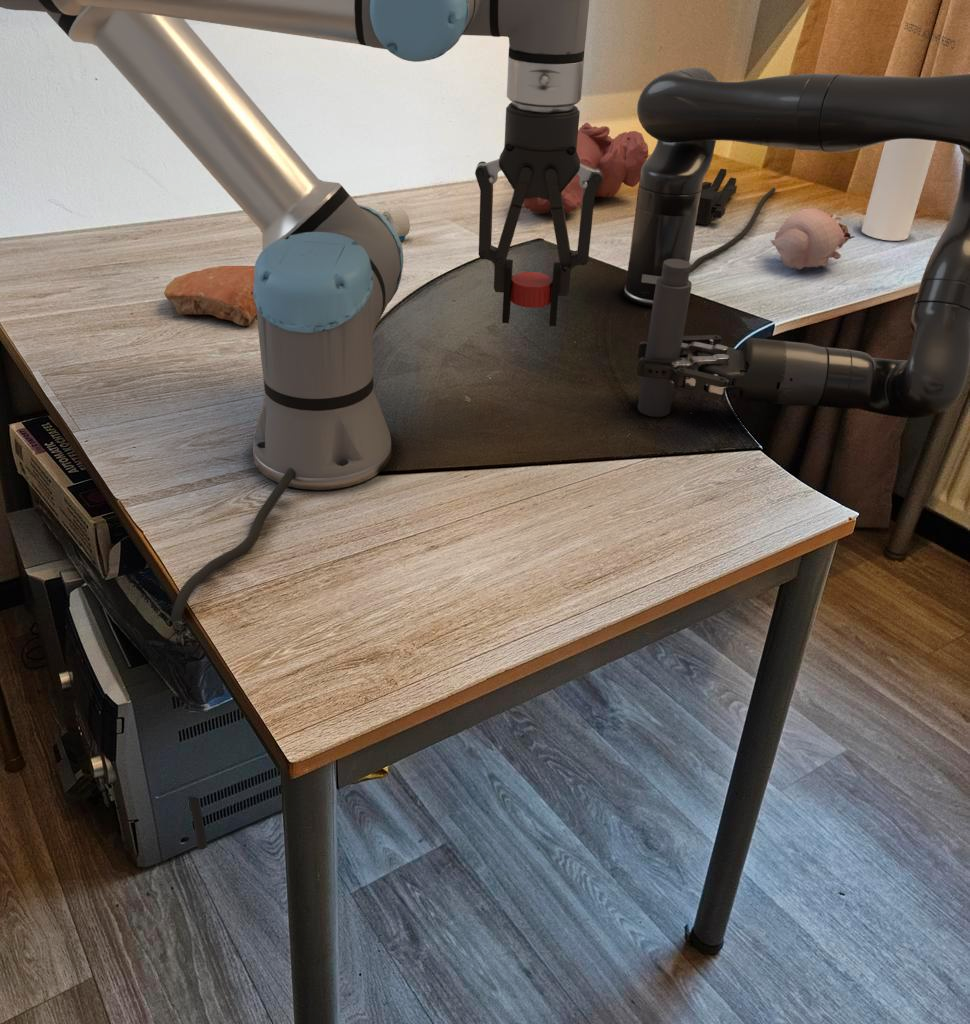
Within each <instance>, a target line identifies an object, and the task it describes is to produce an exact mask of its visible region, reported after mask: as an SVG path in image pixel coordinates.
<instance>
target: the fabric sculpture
mask: <svg viewBox="0 0 970 1024" xmlns="http://www.w3.org/2000/svg"><path fill="white" fill-rule="evenodd" d="M610 130H611V129H610V127H608V126H607V125H605V126H604V125H602V126H600V127H598V126H592V125H591V124H590V123H589V122H585V123H584V124H581V126H580V127H578V139H577V154H578V157H579V159H580V163H581V164H583V165H585V166H587V167H590V168H592V169H593V168H599V169H600V170H601V172H602V182H601V184H600V186H599V189H598V191H597V193H596V195H595V197H596V198H599V197H604V198H606V197H608V198H610V197H613V196H614V195H617V194H618V192H619V191H620V189H621V186H622V184H624V185H625V186H627V187H631V188H635V187H636V186H637V185H639V180H640V173H641V168H642V166H643V164H644V163H645V162H646V160H647V159H648V158H649V146H648V143H647V142H646V141H645V139H644V135H643V134H642V132H638V131H636V130H631V131H628V132H627V131H624V132H621V133H618V135H617V136H615V137H614V138H612V137H611V136H610V135H609V134H610ZM579 181H580V178H579V176H578V175H577V174H576V175H575V176H574V178H573V179H572V180H571V181H570V183H569V184H568V185H567V186H566V187H565V189H564V190H563V191H562V200H563V207H564V213H565V214H569V213H573V212H575V211H578V209H579V208H581V206H582V196H583V189H582V188H581V187H580V184H579ZM523 207H524V209H525V210H529V211H530V212H532V213H535V214H546V213H549V212H551V208H550V202H549V200H544V199H541V198H538V197H535V198H531V199H526V198H525V199H524V202H523Z"/></svg>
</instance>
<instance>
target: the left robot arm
mask: <svg viewBox="0 0 970 1024" xmlns="http://www.w3.org/2000/svg"><path fill="white" fill-rule="evenodd" d="M0 8H3V9H5V10H11V11H12V10H13V11H27V12H28V11H30V12H39V13H40V12H41V13H46V14H47V15H48V16H49V17H50V18H51V19H52V20H53V21H54V22H55V24H56V25H57V26H58V27H59V28H60V29H61V30H62V32H63V33H64V34H65V35H66V36H67V37H68V38H69V39H70V40H71V41H72V42H75V43H81V44H88V45H93V46H95V47H97V48H98V49H99V50H100V52H101V53H102V54H103V55H104V56H105V57H106V58H107V59H108V60H109V62H110V63H111V64H112V65H113V66H114V67H115V69H117V70H118V71H119V73H120V74H121V75H122V76H123V78H125V80H126V81H127V82H128V83H129V84H130V85H131V86H132V87H133V89H135V91H136V92H137V93H138V94H139V95H140V96H141V98H142V99H143V100H144V101H145V102H146V103H147V104H148V105H149V106H150V108H151V109H152V110H153V111H154V112H155V113H156V114H157V115H158V116H159V118H160V119H161V120H162V121H163V122H164V123H165V124H166V125H167V127H168V128H169V129H170V130H171V131H172V132H173V134H175V136H176V137H177V138H178V139H179V140H180V141H181V142H182V144H184V145H185V147H186V148H187V149H188V150H189V151H190V152H191V154H192V155H193V156H194V157H195V158H196V159H197V160H198V161H199V163H200V164H201V165H202V166H203V167H204V168H205V169H206V171H208V173H209V174H210V175H211V176H212V177H213V178H214V179H215V181H216V182H217V183H218V184H219V185H220V186H221V187H222V189H224V191H225V192H226V193H227V194H228V195H229V196H230V197H231V198H232V200H233V201H234V202H235V203H236V204H237V205H238V206H239V208H240V209H242V211H243V212H244V213H245V214H246V215H247V216H248V218H249V219H250V220H251V221H252V222H253V223H254V224H255V225H256V226H257V228H258V229H259V230H260V233H261V234H262V235H261V237H262V246H261V248H262V250H261V251H260V253H259V255H258V257H257V259H256V261H255V264H254V266H255V269H254V284H253V287H254V291H253V296H254V300H255V303H256V311H257V314H256V320H257V330H258V340H259V349H260V359H261V369H262V379H263V388H264V390H263V391H264V396H263V400H262V404H261V408H260V412H259V415H258V419H257V423H256V427H255V430H254V434H253V439H252V441H253V442H252V455H253V460H254V464H255V467H256V468H257V470H258V471H259V472H260V473H261V474H262V475H263V476H265V477H266V478H268V479H269V480H271V481H273V482H275V483H277V485H275V488H274V489H273V490H272V492H271V493H270V495H269V496H268V498H267V499H266V501H265V502H264V503H263V504H262V506H261V507H260V509H259V511H258V512H257V514H256V515H255V517H254V520H253V522H252V525H251V527H250V530H249V533H248V535H247V536H246V538H245V539H244V540H243V541H242V542H241V543H240V544H238V545H236V547H234V548H232V549H230V550H229V551H226V552H224V553H222V554H221V555H219V556H217V557H215V558H214V559H212V560H210V561H209V562H208V563H206V564H205V565H204V566H203V567H202V568H201V569H199V570H197V571H196V572H195V573H194V574H193V575H192V576H190V577H189V578H188V580H187V581H185V583H184V584H183V586H182V587H181V589H180V590H179V592H178V594H177V596H176V599H175V601H174V604H173V607H172V610H171V613H170V621H172V622H177V621H180V620H181V619H182V618H183V616H184V613H185V609H186V606H187V604H188V602H189V599H190V597H191V595H192V593H193V591H194V590H195V589H196V588H197V587H198V586H199V585H200V584H202V583H203V582H204V581H205V580H206V579H208V578H209V577H210V576H211V575H213V573H215V572H216V571H218V570H219V569H220V568H222V567H224V566H226V565H227V564H230V563H232V562H233V561H235V560H237V559H238V558H241V557H242V556H243V555H245V554H246V553H248V552H249V551H250V549H251V548H253V546H254V545H255V543H256V542H257V541H258V539H259V538H260V535H261V531H262V529H263V525H264V523H265V522H266V520H267V517H268V516H269V515H270V512H271V511H272V510H273V508H274V507H275V505H276V504H277V503H278V501H279V500H280V498H281V496H282V495H283V494H284V492H285V491H286V489H287V488H288V487H290V488H295V489H301V490H312V491H314V490H315V491H323V490H327V491H328V490H337V489H342V488H348V487H351V486H355V485H358V484H361V483H363V482H366V481H368V480H370V479H373V478H374V477H375V476H377V475H378V474H380V473H381V472H382V471H383V470H384V469H385V468H386V467H387V466H388V464H389V463H390V461H391V458H392V437H391V432H390V430H389V427H388V424H387V422H386V419H385V417H384V413H383V411H382V408H381V406H380V403H379V400H378V398H377V395H376V393H375V385H374V333H375V332H374V331H375V329H376V327H377V325H378V323H379V321H380V320H381V318H382V316H383V314H384V312H385V310H386V309H387V306H388V304H389V303H390V302H391V301H392V300H393V298H394V297H395V295H396V294H397V292H398V289H399V287H400V283H401V280H402V273H403V270H404V251H403V245H402V242H401V240H400V239H399V237H398V235H397V233H396V231H395V229H394V228H393V226H392V225H391V224H390V222H389V221H388V220H387V219H386V218H385V217H384V216H383V215H382V213H380V212H379V211H377V210H376V209H374V208H372V207H369V206H365V205H361V204H358V203H357V202H356V200H354V198H353V197H352V196H351V194H349V192H348V191H347V190H346V189H345V187H344V186H343V185H342V184H341V183H339V182H335V181H326V180H322V179H320V178H318V176H316V174H315V173H314V171H312V169H310V167H309V166H308V165H307V163H306V162H305V161H304V160H303V159H302V157H300V155H299V154H298V153H297V152H296V150H295V149H294V148H293V147H292V146H291V144H290V143H289V142H288V141H287V140H286V139H285V137H284V136H283V135H282V133H281V132H280V131H279V130H278V129H277V128H276V127H275V126H274V124H273V123H272V122H271V121H270V120H269V119H268V117H267V116H266V115H265V114H264V112H263V111H262V110H261V109H260V108H259V107H258V105H257V104H256V103H255V102H254V101H253V99H252V98H251V97H250V96H249V95H248V93H247V92H246V91H245V89H244V88H243V87H242V86H241V85H240V83H238V81H236V79H235V78H234V77H233V76H232V74H231V73H230V72H229V71H228V70H227V69H226V67H225V66H224V65H223V64H222V63H221V62H220V60H219V59H218V58H217V56H216V55H215V54H214V53H213V52H212V51H211V50H210V48H209V46H207V45H206V43H205V42H204V41H203V40H202V39H201V37H200V36H199V35H198V34H197V33H196V32H195V31H194V29H193V28H192V27H191V26H190V24H189V23H188V22H187V21H186V20H188V21H194V22H195V21H196V22H202V23H209V24H216V25H223V26H230V27H237V28H242V29H243V28H244V29H252V30H257V31H265V32H271V33H278V34H285V35H292V36H300V37H307V38H313V39H320V40H327V41H334V42H341V43H346V44H347V43H348V44H354V45H361V46H365V47H369V48H373V49H381V50H387V51H388V52H389V53H391V55H393V56H396V57H397V58H398V59H401V60H404V61H406V62H413V63H418V62H419V63H420V62H421V63H422V62H427V61H431V60H435V59H438V58H440V57H442V56H443V55H445V54H446V53H447V52H448V51H450V50H451V49H452V48H453V47H454V46H455V45H457V44H458V42H459V41H460V39H461V37H462V36H478V37H492V38H493V37H494V38H501V37H505V38H508V56H507V77H506V79H507V81H506V98H507V99H508V100H509V101H510V103H509V104H508V105H507V106H506V107H505V121H504V123H505V124H504V125H505V126H504V143H503V147H504V148H503V150H502V151H501V153H500V155H499V158H498V159H495V160H491V161H488V162H486V161H479V162H478V163H477V165H476V168H475V172H474V175H475V178H476V181H477V184H478V188H479V190H480V191H479V221H478V222H479V225H478V228H479V229H478V257H479V258H480V259H481V260H487V261H490V262H491V263H492V264H493V266H494V267H493V268H494V270H493V271H494V273H493V274H494V275H493V289H494V292H495V293H503V298H502V315H501V316H502V317H501V323H502V324H510V317H511V303H512V302H511V300H510V295H511V278H512V276H513V263H514V259H509V258H508V255H509V252H510V248H511V244H512V241H513V238H514V234H515V231H516V229H517V224H518V222H519V218H520V215H521V212H522V208H523V207H524V204H523V202H524V199H525V198H526V199H531V198H535V197H538V198H541V199H544V200H549V202H550V208H551V211H550V212H551V217H552V223H553V229H554V237H555V242H556V247H557V248H556V249H557V253H558V260H559V262H558V261H557V262H556V261H554V262H553V269H552V279H553V283H552V296H551V303H550V310H549V322H548V323H549V324H548V325H549V327H557V318H558V317H557V316H558V306H559V297H568V295H569V293H570V285H571V284H570V283H571V273H572V270H573V268H574V267H577V266H586V265H587V264H588V262H589V258H590V257H589V256H590V248H591V236H592V227H593V226H592V225H593V218H594V217H593V216H594V208H595V197H596V196H595V195H596V193H597V191H598V189H599V186H600V184H601V182H602V172H601V170H600V169H599V168H593V169H592V168H590V167H587V166H585V165H583V164H581V163H580V159H579V157H578V154H577V139H578V130H579V128H580V127H579V125H580V114H581V111H580V110H579V108H578V107H577V106H576V104H578V103H579V102H581V100H582V91H583V90H582V89H583V78H584V67H585V66H584V65H585V50H586V42H587V41H586V39H587V29H588V20H589V11H590V0H0ZM499 172H502V173H503V175H504V177H505V178H506V180H507V181H508V183H509V185H510V186H511V187H512V189H513V193H512V196H511V200H510V204H509V208H508V210H507V214H506V216H505V221H504V224H503V228H502V231H501V234H500V238H499V241H498V245H497V246H495V245H492V235H493V234H492V232H493V205H494V184H496V183H497V181H498V177H499V175H498V174H499ZM576 174H577V175H578V176H579V178H580V181H579V184H580V187H581V188H582V189H583V196H582V204H581V206H580V218H579V228H578V239H577V249H576V250H573V251H571V245H570V240H569V239H570V238H569V232H568V226H567V219H566V213H564V207H563V200H562V191H563V190H564V189H565V187H566V186H567V185H568V184H569V183H570V181H571V180H572V179H573V178H574V176H575V175H576ZM187 798H188V803H189V808H190V812H191V816H192V822H193V827H194V832H195V838H196V844H197V849H198V850H203V851H204V850H205V849H207V847H208V842H207V837H206V836H207V835H206V830H205V823H204V818H203V813H202V808H201V803H200V798H199V797H195V796H189V795H188V797H187Z"/></svg>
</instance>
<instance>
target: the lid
mask: <svg viewBox="0 0 970 1024" xmlns="http://www.w3.org/2000/svg"><path fill="white" fill-rule="evenodd" d="M552 283H553V277H551V276H550V275H548V274H545V273H541V272H535V271H524V272H523V271H522V272H518V273H515V274H512V278H511V295H510V300H511V303H512V304H514V305H516V306H519V307H522V308H528V309H529V308H530V309H531V308H532V309H535V308H536V309H538V308H543V307H547V306H549V305H551V296H552Z"/></svg>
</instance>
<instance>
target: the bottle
mask: <svg viewBox="0 0 970 1024" xmlns="http://www.w3.org/2000/svg"><path fill="white" fill-rule="evenodd" d="M691 265H692V263H690V261H689V262H687V261H685V260H681V259H667V260H665V261H664V262H663V269H662V276H661V277H659V278H658V279H657V280H656V287H655V294H654V300H653V307H651V314H650V321H649V328H648V334H647V341H646V342H647V347H646V354H645V358H655V359H665V360H670V364H671V363H672V361H679V357H680V351H681V345H682V339H683V336H684V334H685V327H686V320H687V315H688V310H689V303H690V297H691V291H692V287H693V283H692V281H691V280H690V279H689V278H690V274H691V272H690V270H691ZM674 385H675V384H674V383H670V382H669V379H661V378H651V377H641V381H640V388H639V394H638V402H637V410H638V411H639V412H640V413H641V414H642V415H644V416H648V417H654V418H661V417H666V416H667V415H669V414H670V413H671V408H672V403H673V402H672V401H673V397H674V392H675V389H674Z"/></svg>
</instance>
